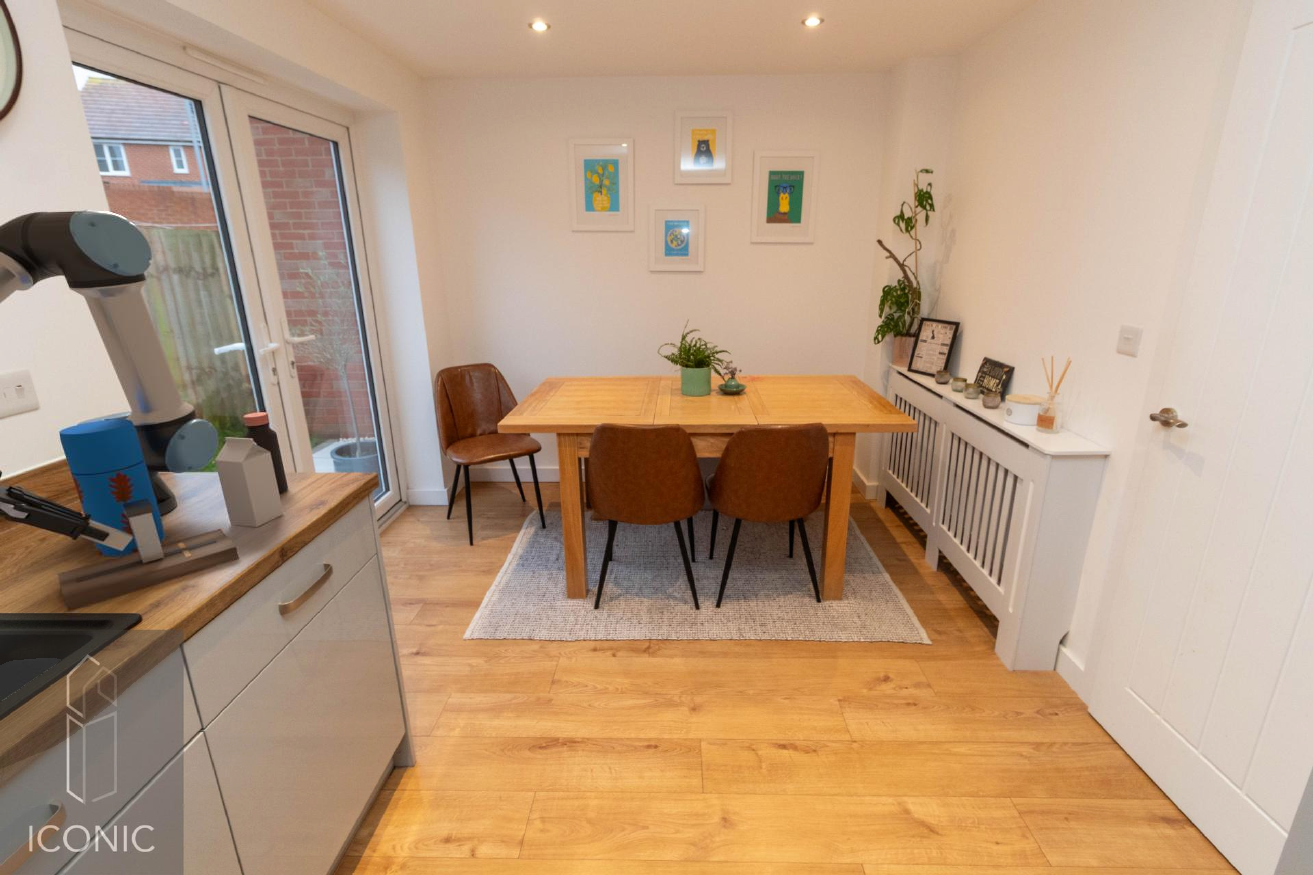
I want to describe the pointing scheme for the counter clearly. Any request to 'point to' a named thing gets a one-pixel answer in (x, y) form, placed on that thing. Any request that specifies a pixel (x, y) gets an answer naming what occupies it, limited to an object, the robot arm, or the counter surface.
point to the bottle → (267, 444)
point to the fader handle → (144, 529)
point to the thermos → (109, 475)
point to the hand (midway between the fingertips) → (126, 542)
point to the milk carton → (248, 482)
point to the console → (144, 569)
